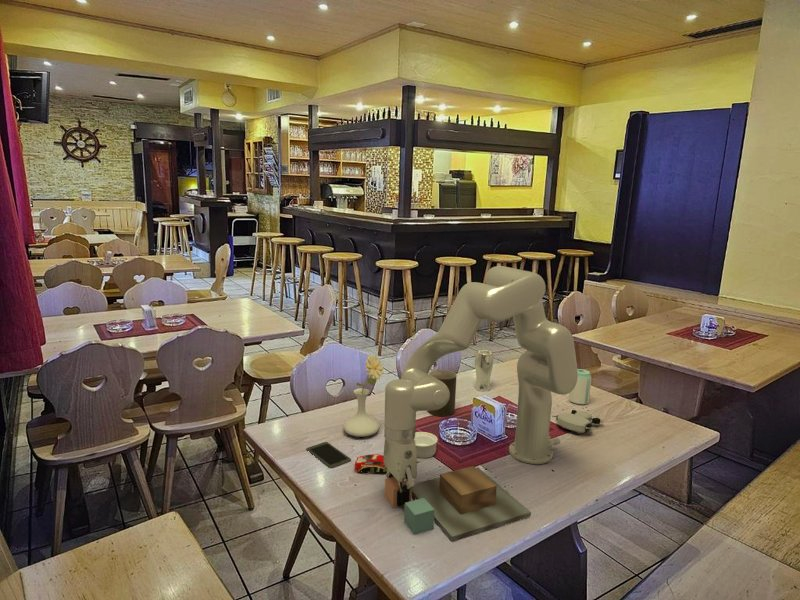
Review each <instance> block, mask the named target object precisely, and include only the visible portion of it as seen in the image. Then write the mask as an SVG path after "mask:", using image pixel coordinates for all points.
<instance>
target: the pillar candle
mask: <svg viewBox="0 0 800 600" xmlns="http://www.w3.org/2000/svg"><path fill="white" fill-rule="evenodd" d="M428 374H429V375H431V376H433V377H434V378H436V379H438V380H440V381H441V382H443V383H444V384H445V385H446V386H447V387H448V389H449V392H450V398H449V401H448V402H447V404H446V405H445V406H444V407H442V408H440V409H438V410H432V411H427V412H428V413H429V414H430V415H433V416H436V417H450V416H452V415H454V414H455V412H456V409H455V408H456V392H457V373H456V372H454V371H451V370H444V369H437V370H430V371H429V373H428Z"/></svg>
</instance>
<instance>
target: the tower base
mask: <svg viewBox="0 0 800 600" xmlns="http://www.w3.org/2000/svg"><path fill="white" fill-rule="evenodd" d="M412 497H413V498H414V500H417V499H421V498H425V500H426V501H427V502H428V503H429V504H430V505H431V506H432V507H433V508H434V524H436V526H438V527H439V529H440V530H441V531H442V532H443V533H444V534H445V535H446V537H447V538H449V540H450V541H451V542H454V541H455V542H456V541H458V540H461V539H465V538H468V537H470V536H474V535H477V534H480V533H483V532H486V531H489V530H493V529H495V528H496V529H497V528H499V527H502V526H506V525H509V524H511V522H512V523H514V522H518V521H521V520H524V519H527V517H528V518H530V516H532V515H531V514H532V511H531V510H529V509H528V508H527V507H526V506H525V505H523V504H522V503H521V502H520V501H519V500H517V499H516V498H515V497H514V496H513V495H511V494H510V492H508V491H507V490H505V489H504V488H503V487H502V486H501V485H500V484H499V483H497V482H496V481H495V480H494V479H493V478H492V477H490V476H489V475H488V474H486V472H484V471H483V470H482V469H481V468H479V467H475V466H474V465H472V466H468V467H463V468H459V469H455V470H451V471H447V472H444V473H440V474H439V477H434V478H431V479H427V480H424V481H419V482H416V483H415V482H414V488H412ZM523 518H524V519H523ZM520 519H521V520H520ZM508 523H509V524H508ZM505 524H506V525H505Z"/></svg>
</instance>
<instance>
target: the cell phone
mask: <svg viewBox="0 0 800 600" xmlns="http://www.w3.org/2000/svg"><path fill="white" fill-rule="evenodd" d="M305 451H307V452H308V451H309V452H310V453H311V454H310V453H309V452H308V453H309V454H310V455H312V456H313V455H314V456H315V459H317V458H318V459H319V460H320V461H319V460H318V459H317V460H318V461H319V462H320V463H322V464H323V465H325V466H326V467H327V468H328V469H335V468H337V467H340V466H343V465H345V464H348V463H350V462H352V459H351V458H350V457H349V456H348V455H347V454H345V453H343V452H342V451H341V450H340V449H338V448H337V447H335V446H333V445H332V444H331V443H330V442H328V441H324V442H320V443H318V444H315V445H312V446H308V447H306V449H305ZM314 456H313V457H314Z"/></svg>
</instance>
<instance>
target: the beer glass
mask: <svg viewBox="0 0 800 600" xmlns="http://www.w3.org/2000/svg"><path fill="white" fill-rule="evenodd" d="M493 367H494V352H493V351H492V350H489V349H478V350H476V353H475V359H474V368H475V369H474V370H475V375H476V376H475V380H476V381H475V385H474V389H475V390H476V391H479V392H489V391H490V390H491V376H492V371H493Z"/></svg>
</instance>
